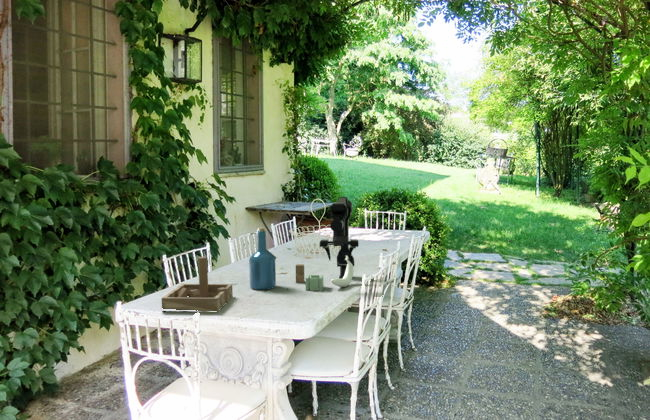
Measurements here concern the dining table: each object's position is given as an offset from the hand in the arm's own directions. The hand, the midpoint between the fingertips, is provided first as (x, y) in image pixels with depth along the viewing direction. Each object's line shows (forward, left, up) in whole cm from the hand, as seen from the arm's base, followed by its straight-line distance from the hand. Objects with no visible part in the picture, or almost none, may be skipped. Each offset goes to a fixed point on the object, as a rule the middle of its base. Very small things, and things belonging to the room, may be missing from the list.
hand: (339, 260), depth 281 cm
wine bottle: (-3, -38, -15) cm, 41 cm away
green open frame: (-1, -12, -14) cm, 19 cm away
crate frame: (+30, -61, -14) cm, 70 cm away
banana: (-6, +2, -15) cm, 16 cm away
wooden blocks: (+30, -61, -15) cm, 70 cm away
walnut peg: (-15, -21, -14) cm, 30 cm away
